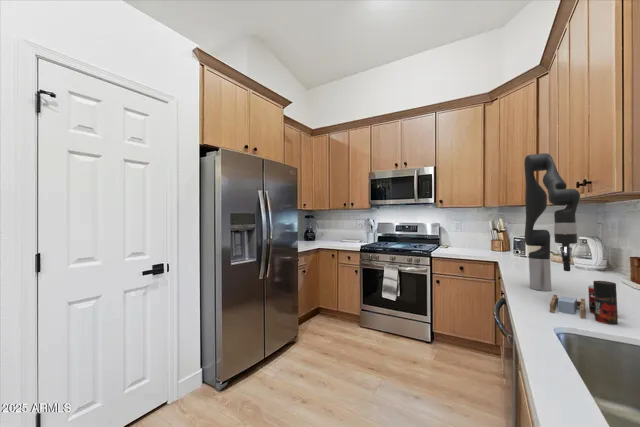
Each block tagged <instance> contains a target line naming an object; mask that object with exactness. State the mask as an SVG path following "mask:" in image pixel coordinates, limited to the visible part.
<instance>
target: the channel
mask: <svg viewBox="0 0 640 427" xmlns="http://www.w3.org/2000/svg"><path fill="white" fill-rule="evenodd" d="M559 298H560V297H558V295H557V294H553V296H552V298H551V300H550V303H549V312H550V313H553V314H554V313H555V311H556V308H557V306H558V299H559ZM585 300H586V299H585V298H581V297H580V300H579V301H578V300H577V306H580V309H579V310H580V311H579V312H580V313H579V314H580V318H581V319H586V301H585Z"/></svg>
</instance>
